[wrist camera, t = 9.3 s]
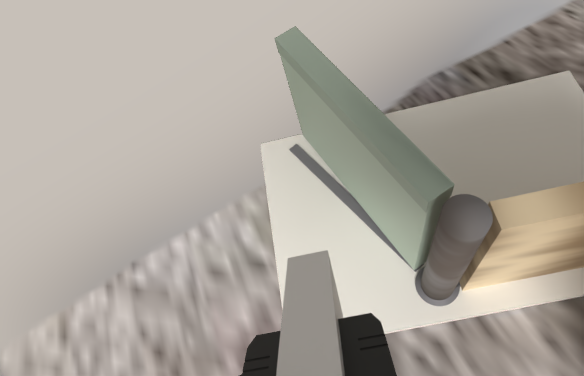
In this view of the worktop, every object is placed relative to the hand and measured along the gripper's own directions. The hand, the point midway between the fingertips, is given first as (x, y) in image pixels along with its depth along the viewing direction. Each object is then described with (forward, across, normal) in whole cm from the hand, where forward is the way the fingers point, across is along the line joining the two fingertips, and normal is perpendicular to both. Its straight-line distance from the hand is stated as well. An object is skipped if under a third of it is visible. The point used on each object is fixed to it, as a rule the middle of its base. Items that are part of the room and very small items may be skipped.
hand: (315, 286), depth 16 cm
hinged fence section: (+12, +3, -1) cm, 13 cm away
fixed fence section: (+8, +12, -6) cm, 16 cm away
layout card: (+12, +8, -2) cm, 14 cm away
